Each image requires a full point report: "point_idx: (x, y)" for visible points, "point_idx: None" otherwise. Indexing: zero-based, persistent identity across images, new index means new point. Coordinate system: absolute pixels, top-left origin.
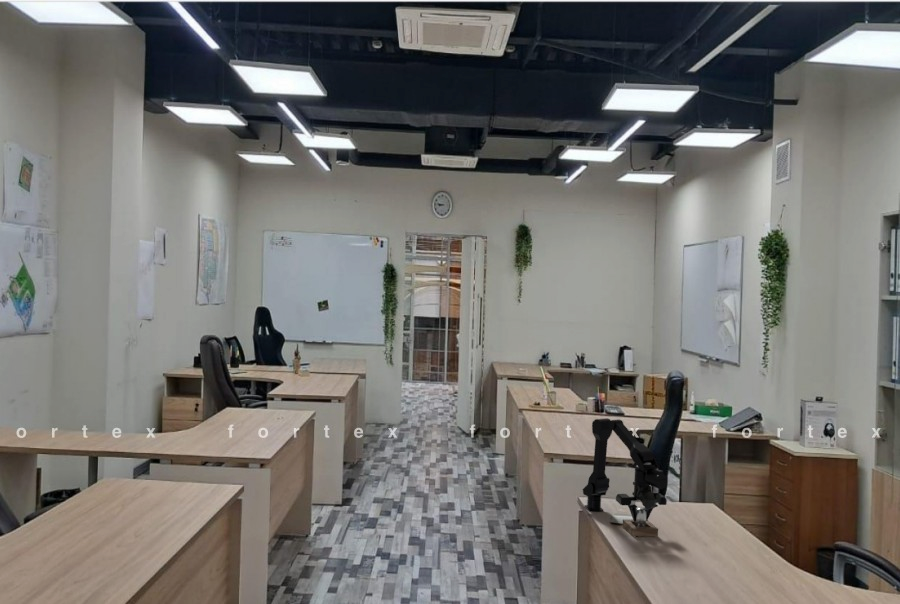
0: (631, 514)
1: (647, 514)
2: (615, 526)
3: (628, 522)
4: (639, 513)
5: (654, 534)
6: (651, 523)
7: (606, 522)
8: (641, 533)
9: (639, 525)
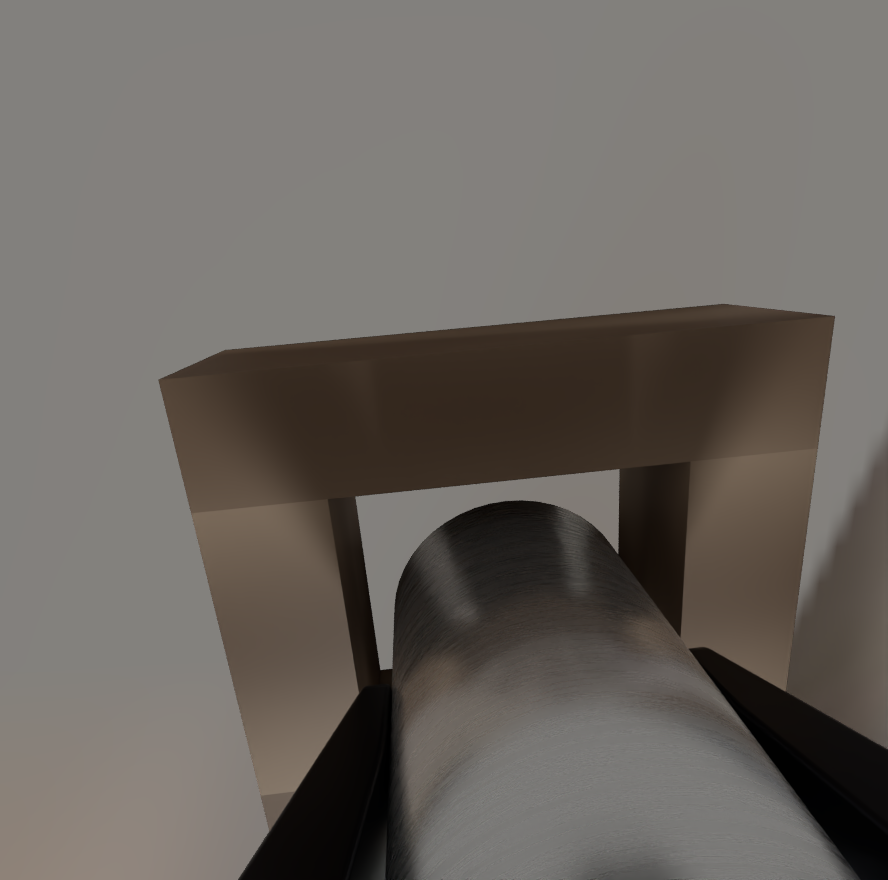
0: None
1: (354, 853)
2: None
3: None
4: (791, 816)
5: (288, 347)
6: (241, 686)
7: None
8: (583, 325)
9: (588, 535)
